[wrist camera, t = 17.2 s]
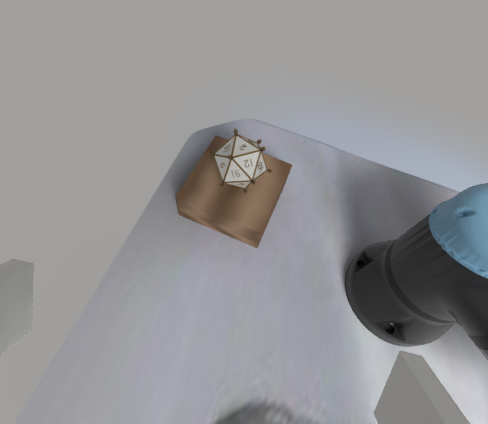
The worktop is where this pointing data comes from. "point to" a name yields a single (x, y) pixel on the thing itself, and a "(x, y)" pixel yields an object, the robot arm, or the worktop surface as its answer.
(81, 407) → the worktop surface
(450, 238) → the robot arm
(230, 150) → the game die
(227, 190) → the walnut block
